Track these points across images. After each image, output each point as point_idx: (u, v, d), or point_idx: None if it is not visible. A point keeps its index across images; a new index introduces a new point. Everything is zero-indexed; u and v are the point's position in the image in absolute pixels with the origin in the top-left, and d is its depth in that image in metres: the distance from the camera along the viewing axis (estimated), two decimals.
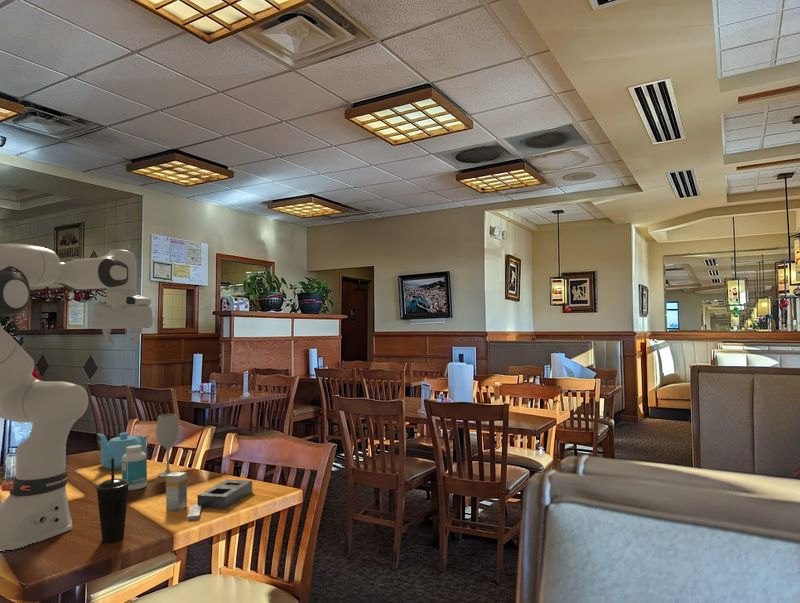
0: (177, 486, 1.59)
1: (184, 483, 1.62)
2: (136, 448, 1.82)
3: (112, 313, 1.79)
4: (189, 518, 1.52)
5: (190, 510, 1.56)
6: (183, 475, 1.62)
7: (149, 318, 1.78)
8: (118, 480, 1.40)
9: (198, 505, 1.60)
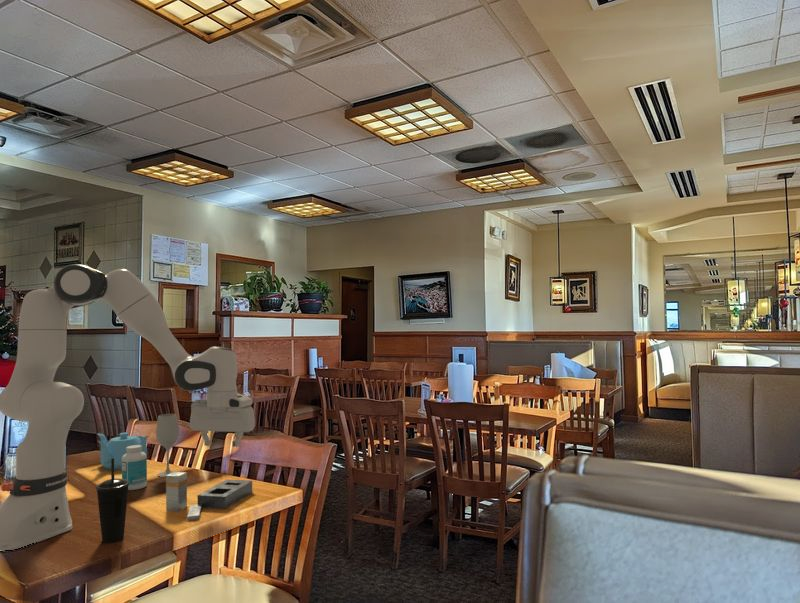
0: (177, 486, 1.59)
1: (184, 483, 1.62)
2: (136, 448, 1.82)
3: (212, 414, 1.68)
4: (189, 518, 1.52)
5: (190, 510, 1.56)
6: (183, 475, 1.62)
7: (252, 421, 1.67)
8: (118, 480, 1.40)
9: (198, 505, 1.60)
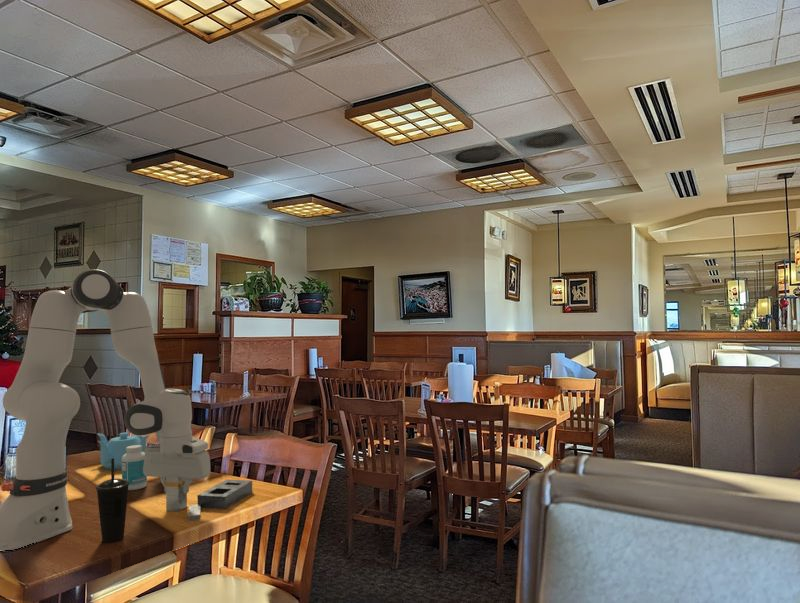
0: (177, 486, 1.59)
1: (184, 483, 1.62)
2: (136, 448, 1.82)
3: (165, 460, 1.61)
4: (190, 518, 1.52)
5: (190, 510, 1.56)
6: None
7: (207, 466, 1.60)
8: (118, 480, 1.40)
9: (197, 505, 1.60)
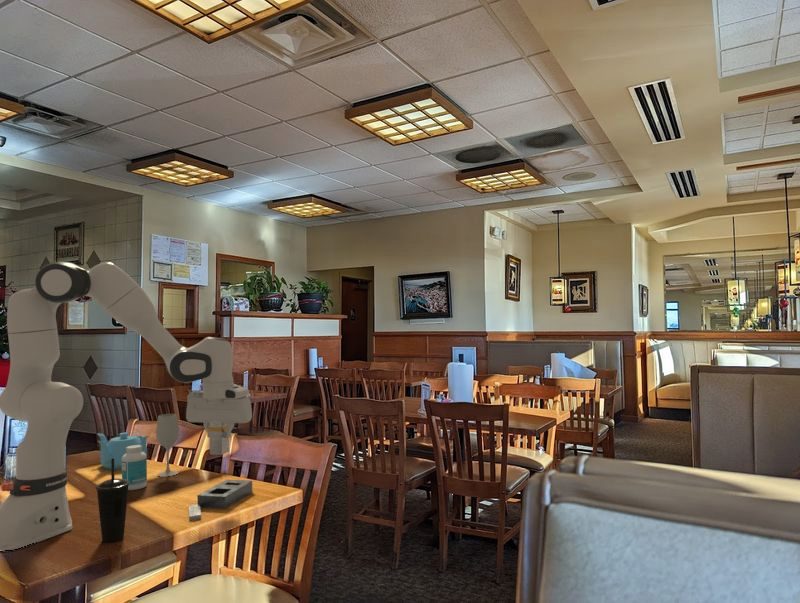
0: (220, 430, 1.64)
1: (226, 428, 1.67)
2: (136, 448, 1.82)
3: (208, 406, 1.65)
4: (191, 518, 1.52)
5: (190, 510, 1.56)
6: None
7: (249, 411, 1.64)
8: (118, 480, 1.40)
9: (197, 505, 1.60)
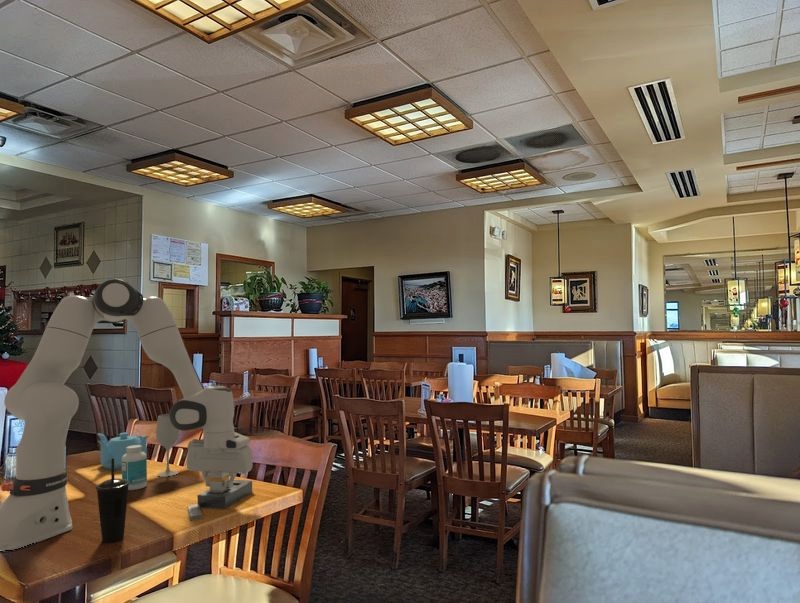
0: (221, 481, 1.64)
1: (227, 478, 1.66)
2: (136, 448, 1.82)
3: (209, 455, 1.65)
4: (192, 518, 1.52)
5: (190, 510, 1.56)
6: None
7: (250, 461, 1.64)
8: (118, 480, 1.40)
9: (196, 505, 1.60)
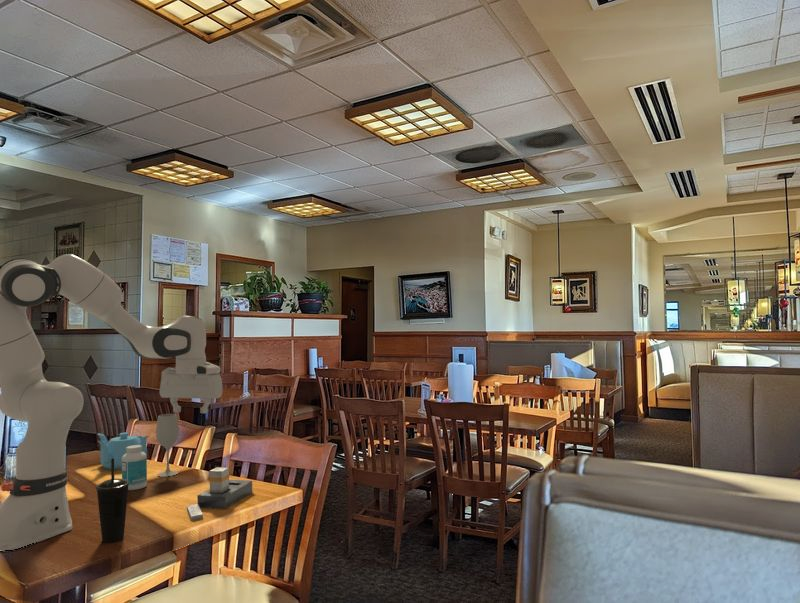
0: (221, 481, 1.64)
1: (227, 478, 1.66)
2: (136, 448, 1.82)
3: (181, 382, 1.72)
4: (193, 518, 1.52)
5: (190, 510, 1.56)
6: (226, 470, 1.66)
7: (219, 388, 1.71)
8: (118, 480, 1.40)
9: (195, 505, 1.60)
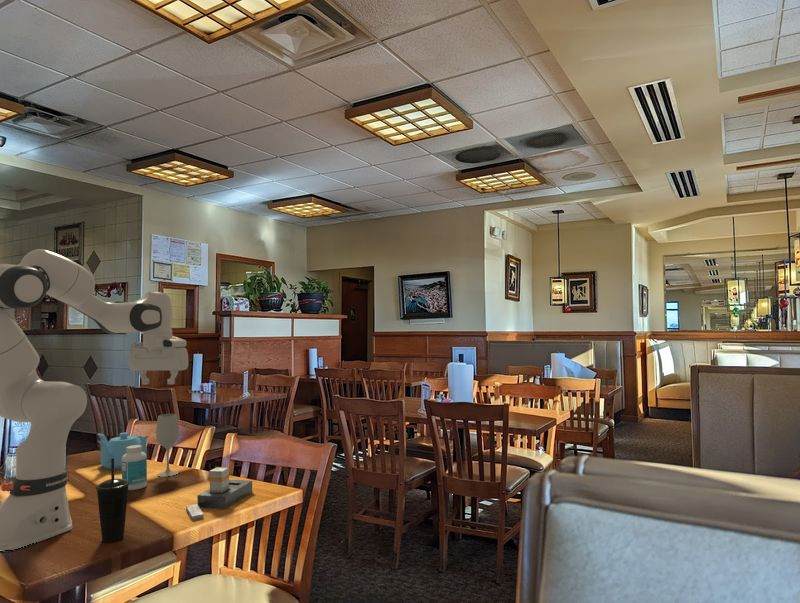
0: (221, 481, 1.64)
1: (227, 478, 1.66)
2: (136, 448, 1.82)
3: (148, 355, 1.80)
4: (194, 518, 1.52)
5: (190, 510, 1.56)
6: (226, 470, 1.66)
7: (185, 360, 1.79)
8: (118, 480, 1.40)
9: (195, 505, 1.60)
